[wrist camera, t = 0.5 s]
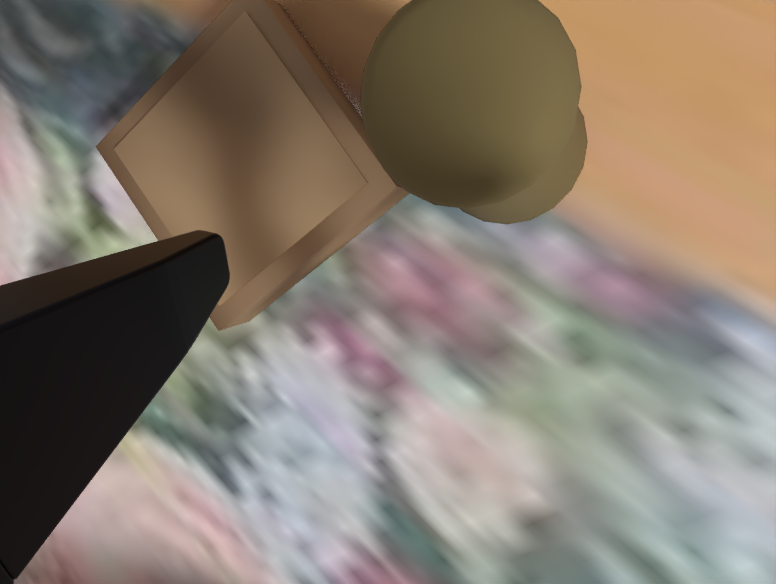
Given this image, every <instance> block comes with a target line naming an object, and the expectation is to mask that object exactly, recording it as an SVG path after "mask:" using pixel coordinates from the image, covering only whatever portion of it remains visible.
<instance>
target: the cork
mask: <svg viewBox="0 0 776 584" xmlns="http://www.w3.org/2000/svg"><path fill="white" fill-rule="evenodd" d="M580 92H581V81H580V75H579V68H578V62H577V56H576V50H575V48H574V46H573V44H572V42H571V40H570V39H569V37H568V35H567V33H566V31H565V29H564V28H563V26H562V24H561V22H560V20H559V18H558V17H557V16H555V15H554V14H553V13H552V12H551V11H550V10H549V9H547V8H546V7H545V6H544V5H543V4H542V3H541V2H539V1H538V0H412V1H410V2H409V3H408V4H406V5H405V6H404V7H402V8H401V9H399V10H398V11H397V12H396V14H395V15H394V16H393V18H392V19H391V20H390V21H389V23H388V24H387V25H386V27H385V28H384V29H383V30H382V32H381V33H380V34H379V36H378V37H377V38H376V41H375V43H374V45H373V48H372V50H371V53H370V55H369V58H368V60H367V63H366V65H365V68H364V71H363V80H362V89H361V99H360V106H361V112H362V117H363V123H364V128H365V134H366V137H367V139H368V141H369V142H370V144H371V146H372V148H373V150H374V152H375V154H376V156H377V158H378V160H379V162H380V163H381V165H382V167H383V169H384V170H385V171H386V172H387V173H388V174H389V175H390V176H391V177H392V178H393V179H394V180H395V181H396V182H397V183H398V184H399V185H400V186H401V187H402V188H403V189H404V190H405V191H407V192H409V193H411V194H413V195H415V196H417V197H420V198H422V199H424V200H426V201H428V202H430V203H432V204H434V205H441V206H449V207H457V208H460V209H461V210H462V211H463V212H465V213H467V214H470V215H472V216H474V217H476V218H478V219H480V220H482V221H485V222H493V223H501V224H511V223H517V222H522V221H527V220H532V219H534V218H535V217H537V216H539V215H541V214H543V213H545V212H547V211H549V210H550V209H552V208H554V207H555V206H556V205H557V204H558V203H559V202H560V201H561V200H562V199H563V198H564V197H565V196H566V195H567V194H568V193H569V192H570V191H571V190H572V188H573V186H574V184H575V182H576V180H577V178H578V176H579V174H580V172H581V170H582V168H583V166H584V160H585V154H586V148H587V142H588V141H587V135H586V128H585V122H584V116H583V115H582V113H581V111H580V109H579V107H578V104H579V98H580Z"/></svg>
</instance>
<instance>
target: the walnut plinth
mask: <svg viewBox="0 0 776 584" xmlns="http://www.w3.org/2000/svg"><path fill="white" fill-rule="evenodd" d="M96 148H97V149H98V151H99V152H100V154H101V155H102V157H103V158H104V160H105V161H106V163H107V164H108V166H109V167H110V169H111V170H112V172H113V173H114V175H115V176H116V178H117V179H118V181H119V182H120V184H121V185H122V187H123V188H124V190H125V191H126V193H127V194H128V196H129V197H130V199H131V200H132V202H133V203H134V205H135V206H136V208H137V209H138V211H139V212H140V214H141V215H142V217H143V218H144V220H145V221H146V223H147V224H148V226H149V227H150V229H151V230H152V232H153V233H154V235H155V236H156V238H157V239H158V241H160V240H164V239H167V238H171V237H174V236H178V235H181V234H185V233H188V232H192V231H195V230H203V231H208V232H212V233H217V234H219V235H220V236H221V237H222V238H223V240H224V243H225V249H226V254H227V260H228V265H229V271H230V280H229V284H228V286H227V288H226V290H225V292H224V293H223V295H222V297H221V298H220V300H219V302H218V303H217V305H216V307H215V308H214V310H213V312H212V313H211V315H210V319H211V320H212V322H213V323H214V325H215V326H216V328H217V329H218V331H220V330H223V329H226V328H229V327H232V326H236V325H239V324H242V323H245V322H248V321H250V320H251V319H253V318H254V317H255V316H256V315H258V314H259V313H260V312H261V311H263V310H264V309H265V308H266V307H268V306H269V305H270V304H271V303H273V302H274V301H275V300H276V299H278V298H279V297H280V296H281V295H283V294H284V293H285V292H286V291H288V290H289V289H290V288H291V287H293V286H294V285H295V284H296V283H298V282H299V281H300V280H301V279H303V278H304V277H305V276H306V275H308V274H309V273H310V272H311V271H313V270H314V269H315V268H316V267H318V266H319V265H320V264H321V263H323V262H324V261H325V260H326V259H328V258H329V257H330V256H331V255H333V254H334V253H335V252H336V251H338V250H339V249H340V248H341V247H343V246H344V245H345V244H346V243H348V242H349V241H350V240H351V239H353V238H354V237H355V236H356V235H358V234H359V233H360V232H361V231H363V230H364V229H365V228H366V227H368V226H369V225H370V224H371V223H373V222H374V221H375V220H376V219H378V218H379V217H380V216H381V215H383V214H384V213H385V212H386V211H388V210H389V209H390V208H391V207H393V206H394V205H395V204H396V203H398V202H399V201H400V200H401V199H403V198H404V197H405V196H406V195H408V194H409V192H407V191H405V190H404V189H403V188H402V187H401V186H400V185H399V184H398V183H397V182H396V181H395V180H394V179H393V178H392V177H391V176H390V175H389V174H388V173H387V172H386V171H385V170H384V169H383V167H382V165H381V163H380V162H379V160H378V158H377V156H376V154H375V152H374V150H373V148H372V146H371V144H370V142H369V141H368V139H367V137H366V134H365V128H364V123H363V119H362V118H361V116H360V115H359V113H358V112H357V111H356V109H355V108H354V106H353V105H352V104H351V102H350V101H349V100H348V98H347V97H346V95H345V94H344V93H343V91H342V90H341V88H340V87H339V86H338V84H337V83H336V81H335V80H334V79H333V77H332V76H331V74H330V73H329V72H328V70H327V69H326V67H325V66H324V65H323V63H322V62H321V61H320V59H319V58H318V56H317V55H316V54H315V52H314V51H313V49H312V48H311V47H310V45H309V44H308V42H307V41H306V40H305V38H304V37H303V35H302V34H301V33H300V31H299V30H298V29H297V27H296V26H295V24H294V23H293V22H292V20H291V19H290V17H289V16H288V15H287V13H286V12H285V10H284V9H283V8H282V6H281V5H280V4H279V3H278V2H276V1H275V0H232V1H231V2H230V3H229V4H228V5H227V7H226V8H225V9H224V10H223V11H222V12H221V13H220V14H219V15H218V16H217V17H216V18H215V19H214V20H213V22H212V23H211V24H210V25H209V26H208V27H207V28H206V29H205V30H204V31H203V32H202V33H201V34H200V35H199V37H198V38H197V39H196V40H195V41H194V42H193V43H192V44H191V45H190V46H189V47H188V48H187V49H186V50H185V52H184V53H183V54H182V55H181V56H180V57H179V58H178V59H177V60H176V61H175V62H174V63H173V64H172V65H171V67H170V68H169V69H168V70H167V71H166V72H165V73H164V74H163V75H162V76H161V77H160V78H159V79H158V80H157V81H156V83H155V84H154V85H153V86H152V87H151V88H150V89H149V90H148V91H147V92H146V93H145V94H144V95H143V96H142V98H141V99H140V100H139V101H138V102H137V103H136V104H135V105H134V106H133V107H132V108H131V109H130V110H129V111H128V113H127V114H126V115H125V116H124V117H123V118H122V119H121V120H120V121H119V122H118V123H117V124H116V125H115V126H114V128H113V129H112V130H111V131H110V132H109V133H108V134H107V135H106V136H105V137H104V138H103V139H102V140H101V141H100V143H99V144H98V145H97V146H96Z"/></svg>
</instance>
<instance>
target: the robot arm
mask: <svg viewBox="0 0 776 584" xmlns="http://www.w3.org/2000/svg"><path fill="white" fill-rule="evenodd" d="M229 280H230V271H229V265H228V260H227V254H226V249H225V243H224V240H223V238H222V237H221V236H220V235H219V234H217V233H212V232H208V231H203V230H195V231H192V232H188V233H185V234H181V235H178V236H174V237H171V238H167V239H164V240H160V241H157V242H153V243H149V244H146V245H142V246H139V247H135V248H132V249H128V250H125V251H121V252H118V253H114V254H110V255H107V256H103V257H100V258H96V259H93V260H89V261H86V262H82V263H79V264H75V265H72V266H68V267H64V268H61V269H57V270H54V271H50V272H47V273H43V274H40V275H36V276H33V277H29V278H25V279H22V280H18V281H15V282H11V283H8V284H4V285H1V286H0V584H13V583H14V580H13V579H16V578H17V577H18V576H19V575H20V573H21V572H22V571H23V570H24V568H25V567H26V566H27V564H28V563H29V562H30V560H31V559H32V558H33V556H34V555H35V554H36V552H37V551H38V550H39V548H40V547H41V546H42V544H43V543H44V542H45V540H46V539H47V538H48V537H49V535H50V534H51V533H52V531H53V530H54V529H55V527H56V526H57V525H58V523H59V522H60V521H61V519H62V518H63V517H64V515H65V514H66V513H67V511H68V510H69V509H70V507H71V506H72V505H73V504H74V502H75V501H76V500H77V498H78V497H79V496H80V494H81V493H82V492H83V490H84V489H85V488H86V486H87V485H88V484H89V482H90V481H91V480H92V478H93V477H94V476H95V475H96V473H97V472H98V471H99V469H100V468H101V467H102V465H103V464H104V463H105V461H106V460H107V459H108V457H109V456H110V455H111V453H112V452H113V451H114V449H115V448H116V447H117V445H118V444H119V443H120V442H121V440H122V439H123V438H124V436H125V435H126V434H127V432H128V431H129V430H130V428H131V427H132V426H133V424H134V423H135V422H136V420H137V419H138V418H139V416H140V415H141V414H142V413H143V411H144V410H145V409H146V407H147V406H148V405H149V403H150V402H151V401H152V399H153V398H154V397H155V395H156V394H157V393H158V391H159V390H160V389H161V387H162V386H163V385H164V383H165V382H166V381H167V380H168V378H169V377H170V376H171V374H172V373H173V372H174V370H175V369H176V368H177V366H178V365H179V364H180V362H181V361H182V360H183V358H184V357H185V355H186V354H187V353H188V351H189V349H190V348H191V346H192V345H193V343H194V342H195V340H196V338H197V337H198V335H199V333H200V332H201V330H202V328H203V327H204V325H205V323H206V322H207V320H208V318H209V317H210V315H211V313H212V312H213V310H214V308H215V307H216V305H217V303H218V302H219V300H220V298H221V297H222V295H223V293H224V292H225V290H226V288H227V286H228V284H229Z"/></svg>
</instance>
